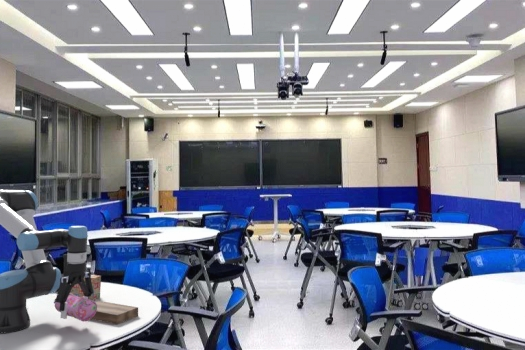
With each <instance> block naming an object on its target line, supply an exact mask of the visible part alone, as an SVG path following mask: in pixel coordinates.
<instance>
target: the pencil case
mask: <svg viewBox="0 0 525 350" xmlns="http://www.w3.org/2000/svg"><path fill="white" fill-rule="evenodd" d="M66 302H67V317H71V318H74V319H77V320H79V321H81V322H87V321H89V320H92V319H91V318H92V317H93V316H94V315H95V313H96V311H97V304H96V302H97V301H95V300H89V299H84V298H81V297H78V296H75V295H74V294H72V293H70V294H69V296H68V298H67V300H66ZM53 304H54V308H55V310H56V311H57V312H58V313H61V311H60V303H59V302H56V298H55V299H54V301H53Z"/></svg>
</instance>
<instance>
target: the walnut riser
mask: <svg viewBox="0 0 525 350" xmlns="http://www.w3.org/2000/svg"><path fill="white" fill-rule="evenodd" d="M95 302H96V304H97V311H96V313H95V315H94V316H93V317H92V318H91V319H90V320H95V321H99V322H103V323H109V324H113V325H119V324H122V323H123V322H124V323H125V322H127V321H129V320H132V319H135V318H136V317H139V307H137V306H132V305H126V304H120V303H114V302H107V301H103V300H98V301H95Z"/></svg>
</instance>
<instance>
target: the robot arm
mask: <svg viewBox="0 0 525 350" xmlns="http://www.w3.org/2000/svg"><path fill="white" fill-rule="evenodd" d="M38 203H39V200H38V197H37V196H36V194H35V193H34V192H33V191H31V190H25V189H0V225H1V227H2V228H4V229H5V230H6V231H7V232H9V233H10V234H11V235H12V236H14V238H16V245H17V248H18V249H19V251H21V254H22V258H23V260H24V261H23V262H24V264H25V268H24V269H15V270H9V271H8V270H7V271H5V272H2V273H0V334H8V333H14V332H18V331H22V330H24V329H27V328H28V327H30V325H31V318H30V315H29V312H28V309H27V300H29V299H34V298H37V297H43V296H47V295H50V294H54V293H56V292H57V293H56V297H55V299H56V302H59V303H60V311H61V312H60V319H64V320H67V318H68V316H67V302H66V300H67V298H68V296H69V294H70V292H71V289H72V288H73V287H74V285H76V284H79V285H80V288H81V290H82V292H83V294H84V295H85V296H82V298H84V299H89V296H91V294H93V287H92V282H91V275H92V272H89V271H86V270H87V262H86V261H87V255H88V252H87V250H88V237H89V234H88V227H87V226H85V225H71V226H69V227H68V229H64V228H53V229H51V230H50V229H49V230H38V228H37V224H36V222H35V219H34V215H35V214H36V211H37V209H38V207H39V206H38ZM62 247H63V248H67V253H66V254H67V262H68V264H67V273H68V274H67V277H64V278H63V277H61V274H62V273H61V269H59V268H58V267H56V266H53V264H52V262H51V261H50V260H48V259H47V257H46V254H45V251H44V249H51V248H52V249H53V248H62ZM84 277H85V281H84ZM67 280H68V281H67ZM85 283H86V284H85ZM70 284H71V285H70ZM58 288H59V289H58ZM57 289H58V291H57Z"/></svg>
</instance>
